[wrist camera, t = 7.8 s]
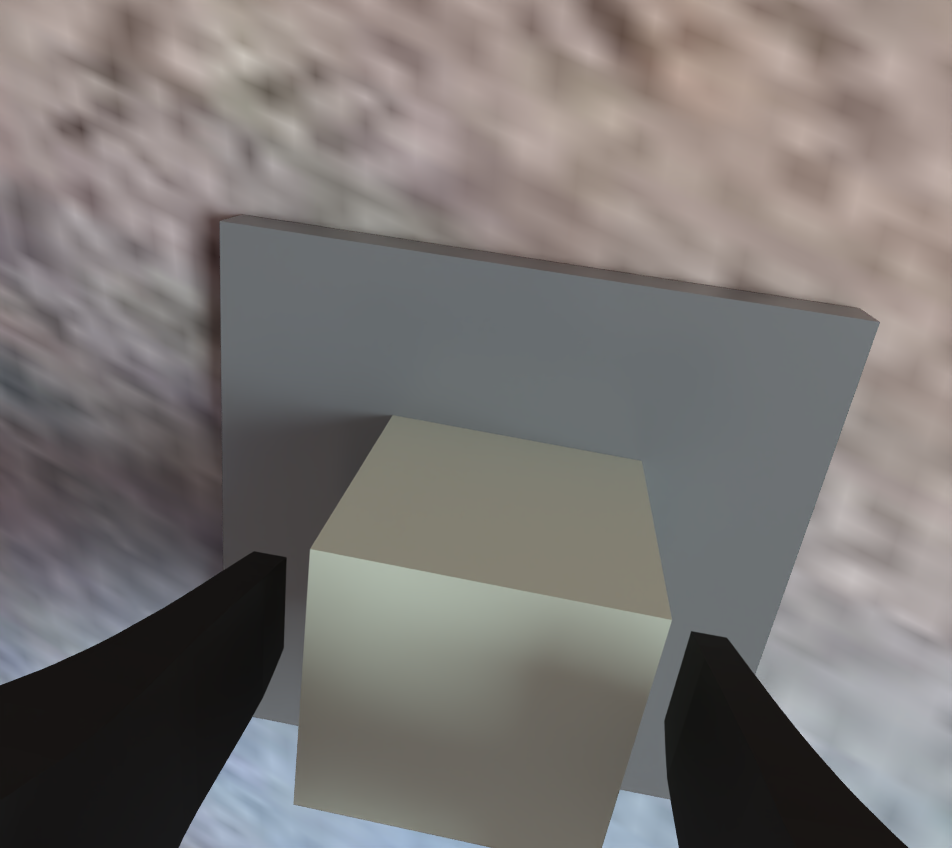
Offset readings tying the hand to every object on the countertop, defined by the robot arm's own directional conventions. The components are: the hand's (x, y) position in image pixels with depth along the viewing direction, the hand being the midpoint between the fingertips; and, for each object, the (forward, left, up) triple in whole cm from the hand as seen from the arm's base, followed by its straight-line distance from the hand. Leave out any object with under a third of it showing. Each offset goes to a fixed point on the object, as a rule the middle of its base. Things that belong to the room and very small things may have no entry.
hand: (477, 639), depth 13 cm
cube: (0, 0, -3) cm, 3 cm away
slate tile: (0, 0, -4) cm, 4 cm away
